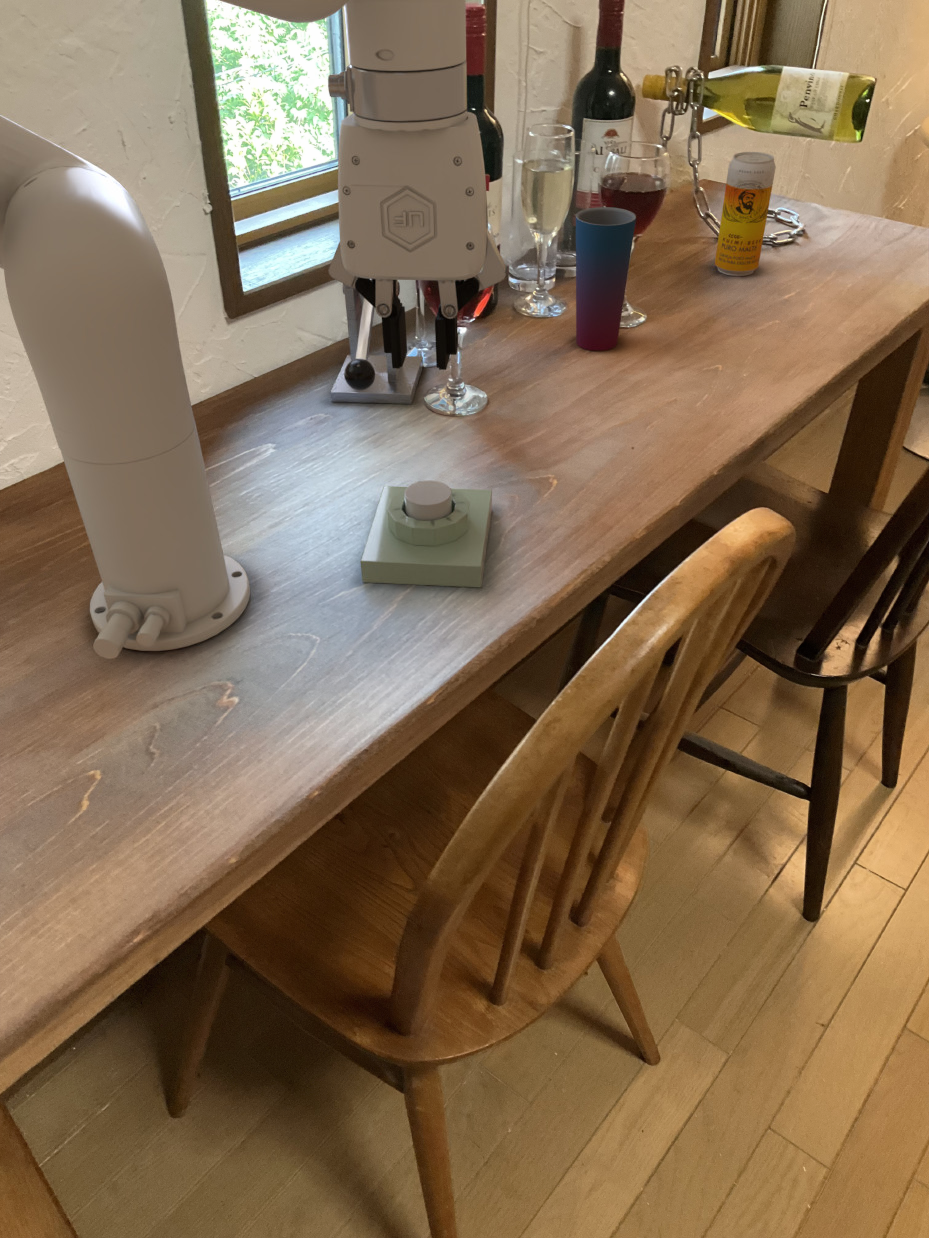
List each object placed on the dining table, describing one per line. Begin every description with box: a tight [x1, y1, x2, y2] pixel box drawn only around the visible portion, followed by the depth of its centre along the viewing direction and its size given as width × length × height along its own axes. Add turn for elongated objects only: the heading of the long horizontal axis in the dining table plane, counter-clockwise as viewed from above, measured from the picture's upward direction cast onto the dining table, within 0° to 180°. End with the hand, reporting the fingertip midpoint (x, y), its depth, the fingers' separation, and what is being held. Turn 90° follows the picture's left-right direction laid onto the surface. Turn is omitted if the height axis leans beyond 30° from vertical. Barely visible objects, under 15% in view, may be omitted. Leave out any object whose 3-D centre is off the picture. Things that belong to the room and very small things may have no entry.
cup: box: [575, 206, 637, 352], centre depth 113 cm, size 7×7×15 cm
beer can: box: [714, 151, 777, 277], centre depth 133 cm, size 6×6×15 cm
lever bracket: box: [330, 281, 424, 405], centre depth 106 cm, size 10×9×13 cm
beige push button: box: [404, 480, 452, 521], centre depth 82 cm, size 4×4×2 cm
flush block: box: [360, 485, 493, 588], centre depth 83 cm, size 12×10×4 cm
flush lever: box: [344, 293, 376, 390], centre depth 101 cm, size 14×3×3 cm, turn 175°
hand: (421, 359), depth 74 cm, fingers closed
